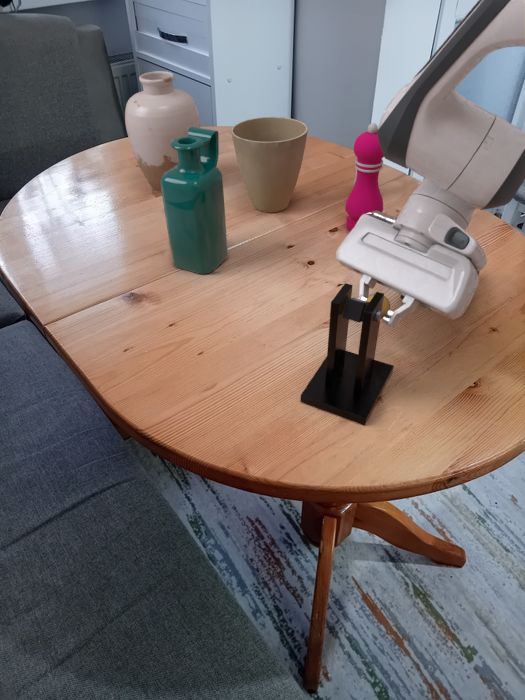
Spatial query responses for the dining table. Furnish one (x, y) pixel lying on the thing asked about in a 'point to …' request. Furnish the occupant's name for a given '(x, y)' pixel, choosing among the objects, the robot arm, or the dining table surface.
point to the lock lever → (362, 308)
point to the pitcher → (195, 203)
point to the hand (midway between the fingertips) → (373, 317)
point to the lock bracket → (350, 365)
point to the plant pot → (270, 159)
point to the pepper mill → (365, 177)
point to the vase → (158, 123)
